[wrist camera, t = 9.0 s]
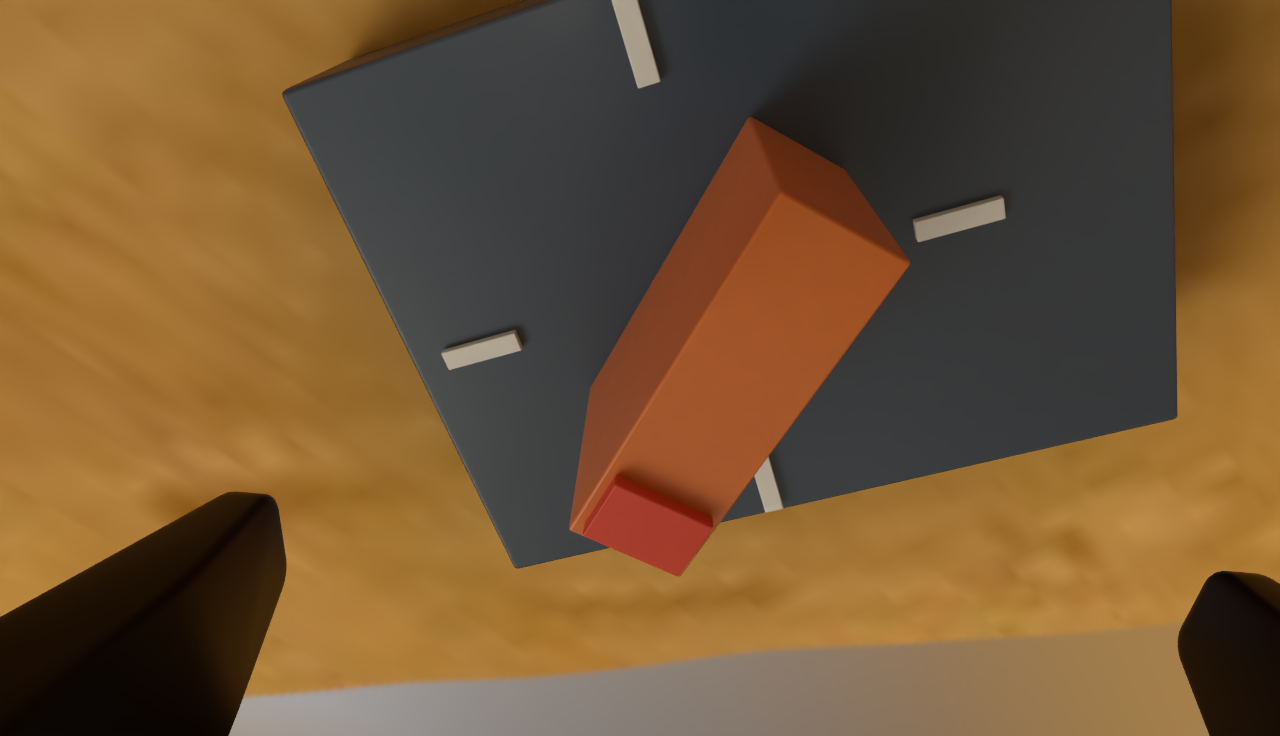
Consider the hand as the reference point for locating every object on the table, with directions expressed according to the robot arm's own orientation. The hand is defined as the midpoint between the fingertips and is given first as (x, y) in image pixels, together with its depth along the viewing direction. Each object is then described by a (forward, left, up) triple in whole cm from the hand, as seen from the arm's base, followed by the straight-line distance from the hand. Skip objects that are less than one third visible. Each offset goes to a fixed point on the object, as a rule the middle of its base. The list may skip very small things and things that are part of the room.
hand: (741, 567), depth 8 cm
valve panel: (-1, 0, -10) cm, 10 cm away
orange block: (0, 0, -7) cm, 7 cm away
